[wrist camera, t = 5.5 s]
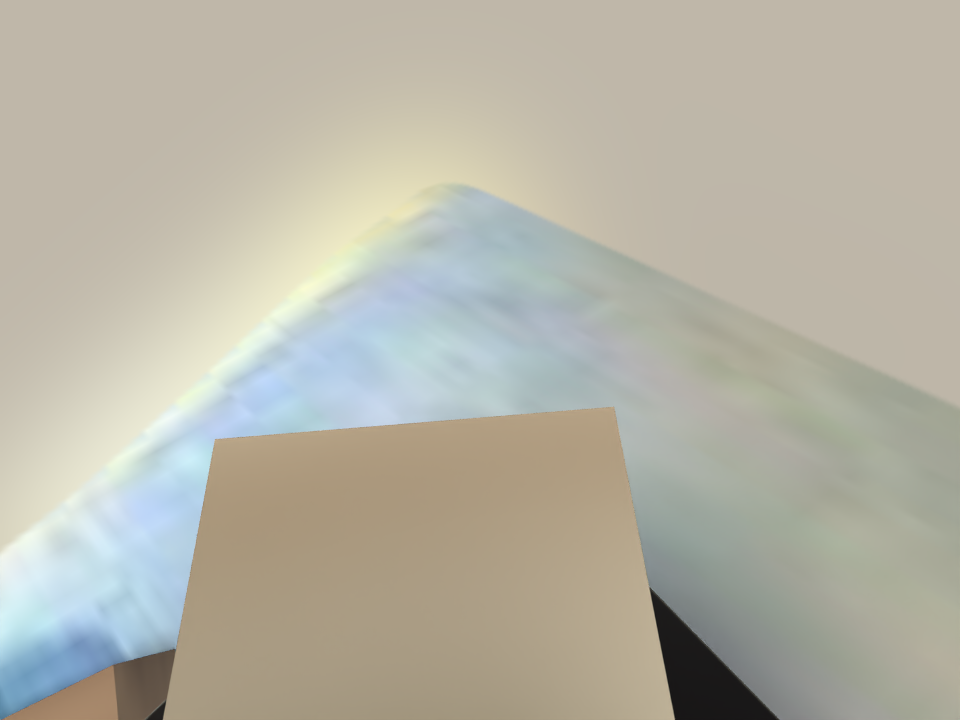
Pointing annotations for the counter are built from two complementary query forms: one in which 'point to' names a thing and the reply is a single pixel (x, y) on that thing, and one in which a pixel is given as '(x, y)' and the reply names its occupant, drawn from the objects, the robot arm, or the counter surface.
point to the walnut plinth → (109, 693)
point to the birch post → (421, 577)
